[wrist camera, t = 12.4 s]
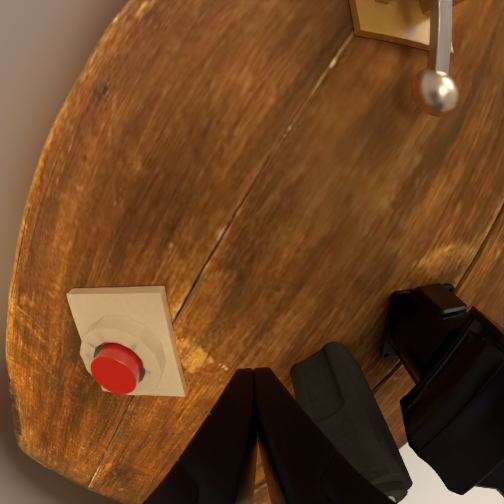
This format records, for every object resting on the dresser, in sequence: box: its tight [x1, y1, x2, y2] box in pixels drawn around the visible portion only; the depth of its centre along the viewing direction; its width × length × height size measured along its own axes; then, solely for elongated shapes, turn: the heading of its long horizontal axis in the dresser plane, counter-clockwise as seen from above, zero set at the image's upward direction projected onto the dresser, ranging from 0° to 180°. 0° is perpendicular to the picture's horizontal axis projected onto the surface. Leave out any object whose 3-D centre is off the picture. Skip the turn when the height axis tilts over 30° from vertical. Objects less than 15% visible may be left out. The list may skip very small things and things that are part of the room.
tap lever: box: [411, 0, 459, 117], centre depth 10 cm, size 13×3×3 cm, turn 4°
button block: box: [66, 286, 187, 397], centre depth 21 cm, size 10×8×3 cm
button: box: [91, 343, 142, 394], centre depth 19 cm, size 4×4×2 cm
